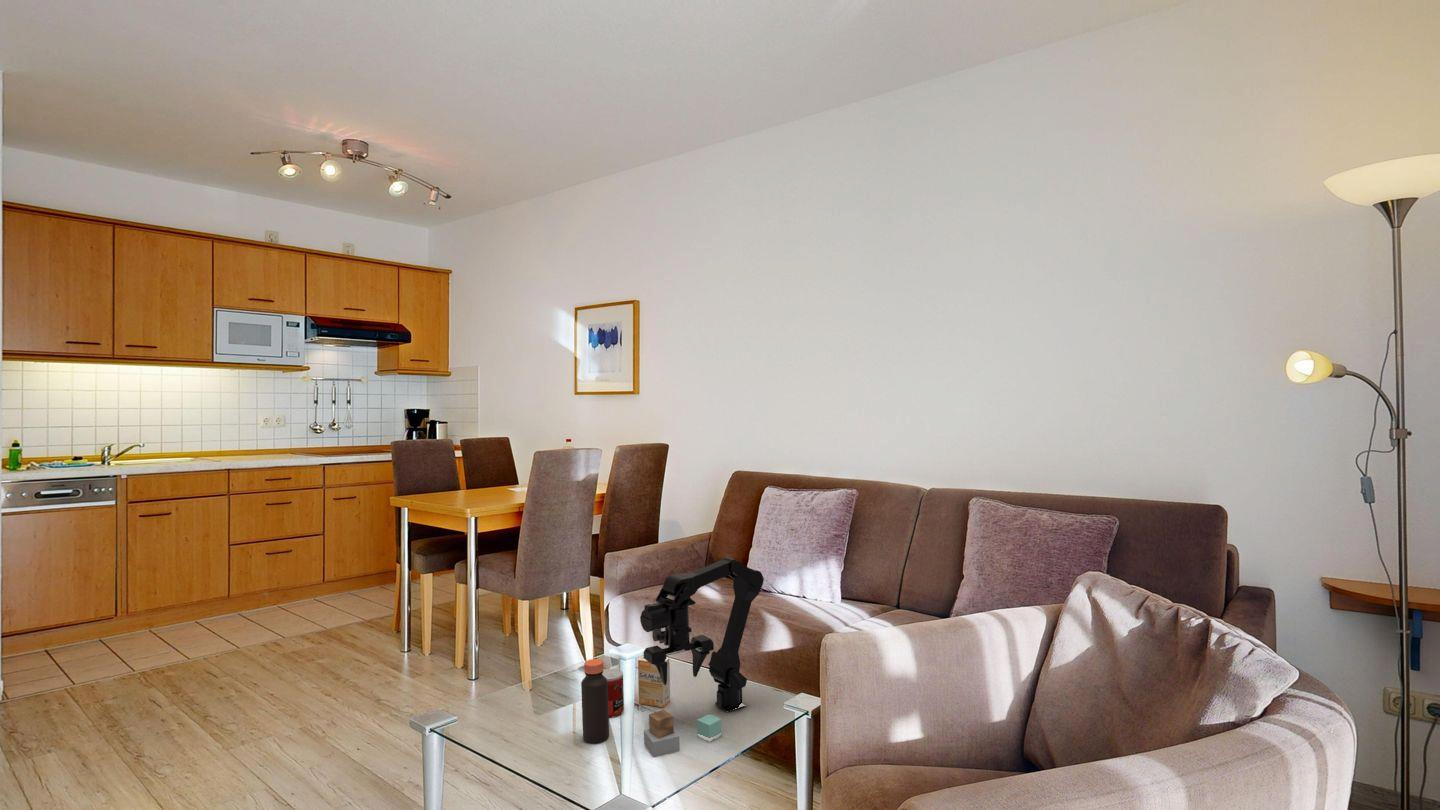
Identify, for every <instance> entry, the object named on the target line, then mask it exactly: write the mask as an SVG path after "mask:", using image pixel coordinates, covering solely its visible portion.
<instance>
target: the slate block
mask: <svg viewBox="0 0 1440 810" xmlns="http://www.w3.org/2000/svg"><path fill="white" fill-rule="evenodd" d="M643 744H644V746H645V748H646V749H647V751H648V752H649V753H650V756H652V758H655V757H660V756H665V755H668V754H672V753H676V752H680V751H681V750H680V749H681V748H680V747H681V746H680V744H681V743H680V735H679V733H677V732H676V730H675V729H674V733H673V734H670V735H667V736H664V737H661V738H659V739H658V738H657V737H656V736H654V735H653V734H652V733H650V732H649V728H648V729H644V730H643Z"/></svg>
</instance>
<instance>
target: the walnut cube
mask: <svg viewBox="0 0 1440 810" xmlns="http://www.w3.org/2000/svg"><path fill="white" fill-rule="evenodd" d="M674 726H675V725H674V715H673V714H672V713H670V712H668V711H667V710H666V709H661V710H658V711H656V712H652V713H649V714H648V729H649V732H650V733H652V734H653V735H654V736H656V737H657V738H658V739H659V738H661V737H664V736H667V735H670V734H673V733H674V730H675V729H674Z"/></svg>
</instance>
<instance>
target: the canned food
mask: <svg viewBox="0 0 1440 810" xmlns="http://www.w3.org/2000/svg"><path fill="white" fill-rule="evenodd" d="M602 675H603V676H604V677H606V678H607V681H608V711H609V719H612V718H616V717H619V716H621V715H622V714H623V713H622V712H624V710H625V701H624V700H625V695H624V691H625V690H624V673H623V671H622V670H621V669H618V668H604V670H603V673H602ZM621 713H622V714H621Z"/></svg>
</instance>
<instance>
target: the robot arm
mask: <svg viewBox="0 0 1440 810" xmlns="http://www.w3.org/2000/svg"><path fill="white" fill-rule="evenodd" d="M726 577H730V578H732V579H733V584H732V587H733V593H734V600H733V603H732V607H731V611H730V614H729V618H728V621H727V625H726V630H725V632H724V636H723V640H722V644H721V646H720V648H719V649H718V650H717V651H715V650H714V648H715V647H714V646H715V643H714V640H712V639H711V638H709V637H708V636H706V635H704V634H701V635H696V636H692V638H691V640H690V633H692V627H690V615H689V613H690V610H689V608H690V607H689V606H694V605H696V601H694V600H693V598H691V597H693V596H694V595H695V594H696V593H697V591H698V590H699V589H700V588H702V587H704V586H707V585H709V584H711V583H714V582H716V581H718V580H719V581H720V579H723V578H726ZM764 580H765V577H764V576H763V573H762V572H761V570H760V571H759V570H756V569H754V568H750V567H748V566H746V565H745V564H743V563H741V562H740V561H739V560H738V559H735V558H731V557H727V556H726V557H723V558H722V559H720V560H718V561H716V562H713V563H712V564H709V565H706V566H704V567H701V568H699V569H697V570H694V571H692V572H682V573H680V572H679V573H674V574H669V575H667V576H666V577H665V580H664V582H663V586H662V587H661V589H660V591H659V592H658V595H657V596H656V598H655V602H656V603H651V604H650V603H649V604H644V608H643V610H642V611H641V613H640V614H641V615H640V617H639V620H640V625H641V627H642V630H643V631H645V632H646V633H651V632H652V634H651V635H652V640H653V641H654V642H659V645H660V644H663V645H664V646H667V647H664V648H662V647H660V646H659V645H654V646H648V647H646V648H645V649H644V650H643V655H644V659H645V660H647V661H648V662H650V663H651V664H654V665H655V666H656V667H657V669H658V672H659V674H660V677H661V679H662V682H663V684H664V685H666V683H667V662H665V660H666V658H667V656H670V655H674V654H680V653H683V652H687V651H691V653H692V675H693V677H694V678H697V677H698V674H699V671H700V669H701V667H702V664H703V663H704V661H705V659H706V657H707V656H708V655H709V654H710V653H711V652H712V653H711V656H710V660H709V662H708V664H707V665H708V666H709V668H708V672H709V674H710V676H711V677H712V679H713V681H714V682H715V683H717V690H716V702H715V705H716V706H717V705H718V706H717V707H718V708H720V707H721V708H722V710H723V709H724V710H725V711H724V710H723V711H724V712H726V711H729V712H731V711H730V710H733V709H735V708H738V707H739V705H740V704H741V703H742V702H743V688H745V687H746V686H747V682H748V679H747V677H745V676H744V675H743V674H742V673H741V672H740V669H741V659H740V654H739V651H740V646H741V643H742V639H743V635H744V632H745V629H746V626H747V625H746V624H747V620H748V616H749V613H750V610H751V605H752V602H753V601H754V600H755V599H756V598H757V597H758V596H759V595H760V593H761V591H762V587H763V585H764V582H765V581H764ZM668 597H669V598H668ZM662 629H664V630H662ZM713 650H714V651H713ZM710 651H711V652H710ZM721 708H720V709H721ZM733 711H734V710H733Z"/></svg>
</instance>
